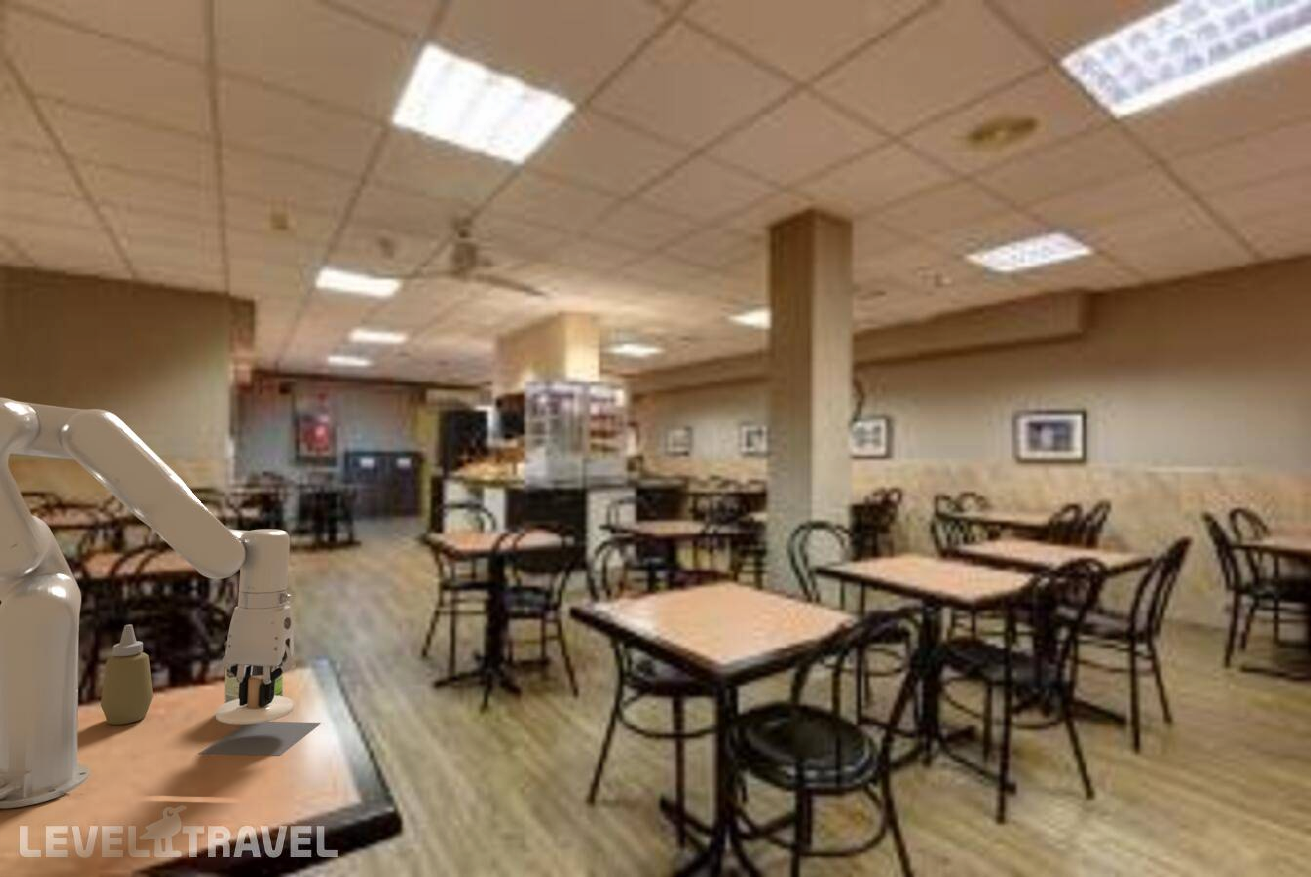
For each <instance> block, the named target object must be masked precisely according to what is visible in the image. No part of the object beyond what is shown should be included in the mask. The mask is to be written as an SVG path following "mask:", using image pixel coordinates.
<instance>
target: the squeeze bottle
mask: <svg viewBox="0 0 1311 877" xmlns="http://www.w3.org/2000/svg"><path fill="white" fill-rule="evenodd" d="M149 656H150V655H149V654H147V653H146V652H144V643H143V641H139V640H138V641H137V638H136V635H135V630H134V627H133V624H125V625H124V627H123V630H122V633H121V638H120V642H119V643H117V644H114V645H113V646H112V656H111V657H110V658H108V659H107V660H106V663H105V669H104V670H105V671H104V679H103V684H102V692H101V699H100V700H101V701H100V707H101V709H102V711H103V715H104V716H105V719H106V721H107V723H108V724H109V725H114V726H116V725H126V724H131V723H135V722H136V723H137V722H138V721H141V720H143V719H145V718H146V716H147V714H148V711H149V709H150V706H151V704H152V700H153V698H154V693H153V683H152V682H153V681H152V673H151V666H150V665H151V664H150V657H149Z"/></svg>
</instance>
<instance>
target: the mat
mask: <svg viewBox="0 0 1311 877" xmlns="http://www.w3.org/2000/svg"><path fill="white" fill-rule="evenodd" d="M321 723H322V722H295V721H292V722H291V721H290V722H288V721H268V722H263V723H257V724H245V725H240V726H239V727H238V726H237V728H235V729H234V730H232V731H231V732H229V733H228V734H227V735H225V736H223V737H221V738H220V739H219V740H217V741H215V742H214V743H212V744H211V745H210V746H208V747H206V748H205V749H203V750H202V751H200V752H199V753H198V755H227V756H229V755H230V756H260V757H261V756H263V757H264V756H265V757H266V756H267V757H269V756H270V757H271V756H272V757H273V756H274V757H280V756H283V754H284V753H286V752H287V751H288V750H289V749H291V748H292V747H294V745H296V744H297V743H298V742H299V741H301V740H302V739H304V738H305V736H307V735H308V734H309V733H311V732H312V731H313V730H315V729H316V728H317V727H319V726H320V725H321Z"/></svg>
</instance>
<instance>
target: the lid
mask: <svg viewBox="0 0 1311 877" xmlns="http://www.w3.org/2000/svg"><path fill="white" fill-rule="evenodd" d="M261 684H263V676H253V677H250V678H249V679H248V695H247V704H246V705H244V706H240V705H239V701H240V699H236V700H232V701H229V702H227V703H225V702H224V703H223V704H221V705H219V706H218V707H217V708H216V710H215V719H216V720H217V721H218V722H220V723H223V724H226V725H227V724H228V725H240V726H241V725H245V724H257V723H263V722H273V721H276V720H279V719H281V718H284V717H286V716H287V715H289V714H291V713H292V712H293V711H294V700H293V699H291V698H290V697H288V696H276V695H274V698H273V700H272V702H271V703H269V704H268V705H266V706H264V707H259V691H260V685H261Z"/></svg>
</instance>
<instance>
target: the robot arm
mask: <svg viewBox="0 0 1311 877" xmlns="http://www.w3.org/2000/svg"><path fill="white" fill-rule="evenodd" d="M10 455H21V456H22V455H24V456H33V457H44V458H56V459H65V460H66V459H67V460H75V461H76V462H77V463H78V464H79V465H80V466H81V467H82V468H83V469H85V470H86V471H87V472H88V473H89V474H90V475H91V476H92V477H94V479H96V480H97V481H98V482H99V483H100V484H101V485H102V486H104V488H105V489H106V490H107V491H109V492H110V493H111V494H112V495H113V496H114V497H115V498H116V500H118V501H119V502H120V503H121V504H122V505H124V506H125V507H126V508H127V510H129V511H130V512H131V513H132V514H133V515H134V517H136V518H137V519H139V521H142V522H143V523H144V524H145V525H147V526H148V527H149V528H151V530H153V531H154V532H155V533H156V534H157V535H158V536H159V537H160V538H161V539H162V540H164V542H165V543H167V544H168V545H169V546H170V547H171V548H172V549H173V550H174V551H175V552H176V553H177V554H178V555H180V556H181V557H182V558H183V559H184V560H185V561H186V562H187V563H188V564H189V565H191V567H192V568H194V569H195V570H196V572H198V573H199V574H200V575H202V576H204V577H206V578H208V579H212V580H213V579H214V580H221V579H225V578H229V577H231V576H233V575H234V574H236V573H237V572H239V570H240V572H239V583H238V585H239V587H238V591H239V592H238V600H237V601H238V603H237V606H236V607H234V610H233V612H232V616H231V620H230V623H229V628H228V633H227V640H226V641H227V647H226V654H225V653H224V656H223V658H222V659H221V662H220V665H221V666H222V667H224V669H225V668H227V669H228V670H230V671H231V672H232V673H233V674H234V676H235V677H236V681H237V682H238V683H239V699H240V701H239V705H240V706H244V705H246V704H247V695H248V679H249V678H250V677H252V671H253V666H263V684H261V685H260V691H259V707H264V706H266V705H268V704H269V703H271V702H272V700H273V698H274V689H275V680H277V679H278V677H279V676H281V675H282V674H284V673H286V672H289V671H291V670H293V669H295V668H296V667H297V666H296V665H297V664H296V662H295V659H294V653H295V652H294V651H295V648H294V646H295V643H294V642H295V640H294V639H295V631H294V620H293V612H292V608H291V606H290V605H287V604H288V603H292V602H293V600H294V595H293V594H289V593H288V589H287V588H288V577H289V576H288V575H289V563H290V562H289V561H290V560H289V559H290V547H291V544H290V543H291V540H290V539H291V538H290V535H289V533H288V532H287V531H284V530H281V529H270V528H269V529H268V528H267V529H266V528H265V529H254V530H253V529H252V530H250V531H249V530H237V529H229V528H228V527H226V526H225V525H224V524H223V522H221V521H220V520H219V519H218V518H217V517H216V516H215V515H214V514H213V513H212V512H211V511H210V510H209V509H208V508H207V507H206V506H205V505H204V504H203V503H202V502H201V501H200V500H199V499H198V497H196V496H195V495H194V493H193V492H192V491H191V489H190V488H189V487H188V485H187V483H185V482H184V481H183V480H182V478H181V477H180V476H179V475H178V474H177V473H176V472H175V471H174V470H173V469H172V468H171V467H170V466H169V465H167V464H166V463H165V461H164V460H163V459H161V458H160V457H159V455H157V454H156V453H155V452H154V451H153V450H152V449H151V448H150V447H149V445H147V444H146V443H145V442H144V441H143V440H142V439H141V438H140V437H139V436H138V435H137V434H136V433H135V432H134V431H133V430H132V429H131V428H130V427H129V426H128V425H127V424H126V423H125V422H124V421H123V420H122V419H120V418H119V417H118V415H116V414H114V413H113V412H110V411H108V410H104V409H97V408H92V409H91V408H90V409H82V408H73V407H72V408H71V407H63V406H54V405H46V404H40V403H31V402H26V401H25V402H23V401H18V400H14V399H11V398H6V397H0V809H14V808H22V807H28V806H33V805H36V804H40V803H44V802H45V803H46V802H48V801H51V800H53V799H57V798H60V797H63V796H64V795H67V794H68V792H70V791H72V790H74V789H76V788H77V787H79V786H81V785H82V784H83V783H85V782H86V781H87V780H88V779H89V777H90V768H89V767H88V766H86V765H84V764H81V763H78V732H79V731H78V730H79V729H78V728H79V727H78V722H79V721H78V719H79V718H78V717H79V715H78V714H79V630H80V629H79V626H80V612H81V606H82V593H81V590H80V588H79V586H78V585H79V584H78V583H77V580H76V579H75V577H74V575H73V572H72V571H71V568H70V566H69V564H68V561H67V559H66V558H65V556H64V554H63V551H62V550H61V548H60V546H59V544H58V542H57V539H56V538H55V535H54V534H53V532H52V530H51V528H50V527H49V526H48V524H47V523H46V522H45V521H43V520H42V519H41V518H39V517H37V516H35V515H33V514H32V513H31V511H30V509H29V507H28V505H27V503H26V501H25V500H24V498H23V495H22V493H21V490H20V488H19V485H18V484H17V481H16V479H15V478H14V476H13V474H12V473H11V469H10V467H9V458H10ZM282 661H283V666H281V667H279V668H278V665H279V664H281V662H282Z"/></svg>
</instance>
